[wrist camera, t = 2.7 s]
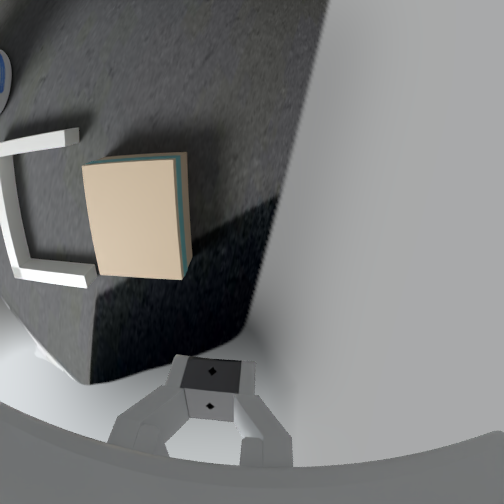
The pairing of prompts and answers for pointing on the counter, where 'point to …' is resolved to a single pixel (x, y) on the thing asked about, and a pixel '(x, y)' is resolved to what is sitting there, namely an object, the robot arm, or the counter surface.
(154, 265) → the carton
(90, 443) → the robot arm
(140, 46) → the counter surface
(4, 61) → the supplement tub
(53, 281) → the frame
